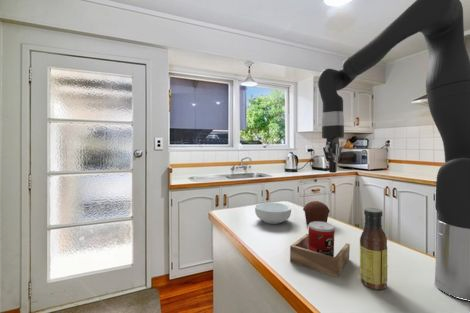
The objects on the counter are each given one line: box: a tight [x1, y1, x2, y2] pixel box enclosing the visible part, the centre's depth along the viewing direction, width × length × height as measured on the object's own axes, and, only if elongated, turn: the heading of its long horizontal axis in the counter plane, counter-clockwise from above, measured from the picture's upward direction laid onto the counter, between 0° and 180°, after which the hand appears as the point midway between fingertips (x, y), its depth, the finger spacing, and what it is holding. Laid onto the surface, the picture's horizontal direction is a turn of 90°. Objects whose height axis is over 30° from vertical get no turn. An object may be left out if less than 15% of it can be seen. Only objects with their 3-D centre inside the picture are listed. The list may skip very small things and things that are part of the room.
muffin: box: [302, 201, 331, 226], centre depth 109 cm, size 12×11×10 cm
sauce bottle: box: [359, 207, 388, 291], centre depth 62 cm, size 6×6×20 cm
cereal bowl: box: [254, 202, 292, 225], centre depth 113 cm, size 17×17×7 cm
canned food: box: [307, 221, 335, 257], centre depth 76 cm, size 8×8×11 cm
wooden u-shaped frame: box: [289, 233, 351, 278], centre depth 75 cm, size 13×14×5 cm
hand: (332, 172), depth 88 cm, fingers closed
